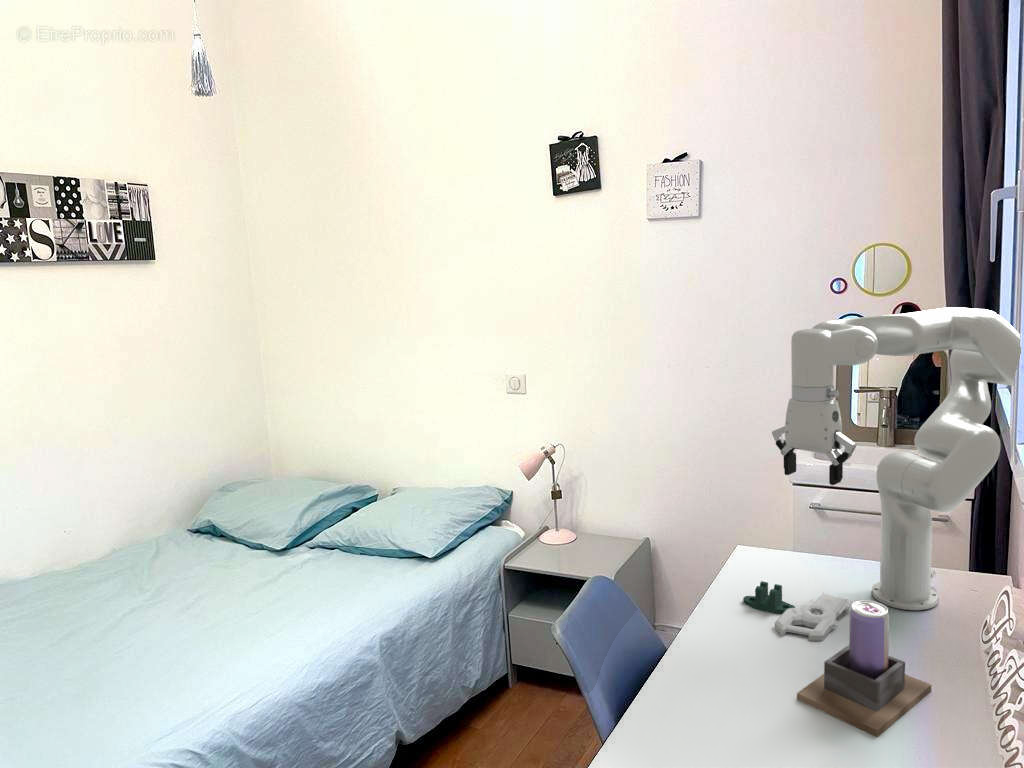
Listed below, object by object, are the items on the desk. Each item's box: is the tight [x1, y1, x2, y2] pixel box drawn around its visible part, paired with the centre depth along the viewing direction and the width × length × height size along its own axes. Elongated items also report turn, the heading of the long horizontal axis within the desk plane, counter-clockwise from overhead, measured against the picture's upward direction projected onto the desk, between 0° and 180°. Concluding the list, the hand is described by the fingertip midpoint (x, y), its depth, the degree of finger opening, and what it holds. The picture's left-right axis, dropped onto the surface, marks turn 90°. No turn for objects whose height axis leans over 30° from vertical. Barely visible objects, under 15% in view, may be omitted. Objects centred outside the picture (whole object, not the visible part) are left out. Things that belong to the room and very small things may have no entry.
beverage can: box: [849, 599, 890, 680], centre depth 129 cm, size 6×6×15 cm
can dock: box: [796, 643, 932, 738], centre depth 131 cm, size 18×14×6 cm
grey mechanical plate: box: [774, 592, 851, 642], centre depth 157 cm, size 18×3×10 cm
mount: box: [742, 580, 796, 615], centre depth 163 cm, size 11×4×5 cm, turn 53°
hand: (812, 478), depth 152 cm, fingers open, 9 cm apart
